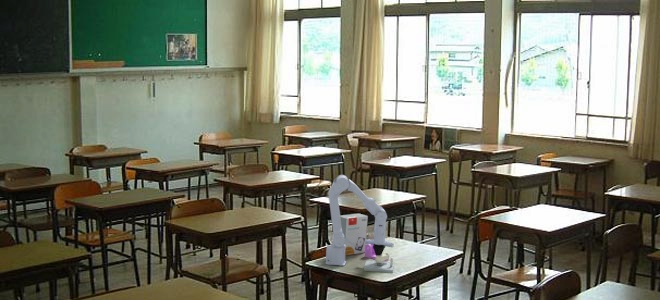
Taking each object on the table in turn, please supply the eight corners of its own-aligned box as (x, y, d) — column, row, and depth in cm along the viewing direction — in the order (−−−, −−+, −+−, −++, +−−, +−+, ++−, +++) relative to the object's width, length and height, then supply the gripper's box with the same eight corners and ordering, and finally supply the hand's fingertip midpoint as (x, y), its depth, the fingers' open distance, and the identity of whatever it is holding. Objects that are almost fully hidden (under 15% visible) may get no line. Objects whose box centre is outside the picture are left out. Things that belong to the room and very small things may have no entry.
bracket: (364, 256, 420) (365, 243, 419) (371, 254, 424) (372, 241, 423) (383, 261, 412) (384, 248, 411) (390, 260, 416) (391, 246, 415)
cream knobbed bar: (381, 263, 397) (381, 257, 396) (373, 262, 399) (374, 256, 398) (390, 259, 405) (391, 254, 405) (383, 258, 407) (384, 252, 407)
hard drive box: (343, 256, 419) (345, 218, 416) (334, 253, 425) (335, 215, 422) (366, 252, 428) (368, 215, 426) (356, 249, 434) (358, 212, 432)
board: (363, 270, 394) (364, 259, 393) (366, 262, 408) (366, 252, 407) (392, 272, 392) (393, 261, 391) (394, 265, 406) (394, 254, 405)
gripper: (363, 232, 402) (362, 259, 404) (390, 236, 397) (389, 263, 398) (368, 229, 409) (367, 256, 411) (395, 233, 403) (394, 260, 405)
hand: (378, 259), depth 405 cm, fingers closed
